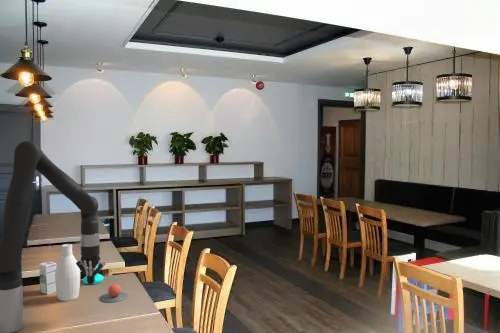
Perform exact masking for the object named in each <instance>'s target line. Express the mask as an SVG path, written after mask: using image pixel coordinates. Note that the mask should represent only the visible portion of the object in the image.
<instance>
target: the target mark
mask: <svg viewBox="0 0 500 333" xmlns="http://www.w3.org/2000/svg"><path fill="white" fill-rule="evenodd" d="M128 297H129V295H128V293H126V292H122V291H121V293H120V294H119V295H118V296H117V297H111V296H110V295H109V293H108V292H107V293H104V294H102V295H101V296H99V297H98V300H99V301H100V302H102V303H108V304H110V303H111V304H112V303H118V302H119V303H120V302H122V301H125V300H126V299H127V298H128Z"/></svg>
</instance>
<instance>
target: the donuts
mask: <svg viewBox="0 0 500 333" xmlns="http://www.w3.org/2000/svg"><path fill="white" fill-rule="evenodd" d="M97 267H98V264H97V266H96V269H97ZM103 281H104V275H102V274H100V273H98V274H96V275H95V282H94V283H93V284H92V285H97V284H100V283H102V282H103ZM83 283H84V284H86V285H89V284H88V283H87V275H86V276H84V277H83Z"/></svg>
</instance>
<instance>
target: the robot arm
mask: <svg viewBox="0 0 500 333" xmlns="http://www.w3.org/2000/svg"><path fill="white" fill-rule="evenodd" d="M13 155H14V156H13V166H12V167H13V168H12V175H11V179H10V182H9V185H8V189H7V192H6V196H5V197H6V198H5V201H4V206H3V211H2V212H3V214H2V233H1V239H0V333H15V332H18V331H20V330H22V329H23V328H24V323H25V322H24V302H23V301H24V299H23V298H24V297H23V295H24V294H23V273H22V260H23V259H22V255H23V254H22V253H23V242H24V241H23V240H24V236H25V231H26V229H27V225H28V222H29V218H30V214H31V211H32V210H31V209H32V204H33V197H34V196H33V195H34V177H35V173H36V171H37V172H39V173H40V174H41V175H42V177H44V178H45V179H46V180H48V182H49V183H50V184H51V185H52V186H53V187H54V188H55V189H56V190H57V191H58V192H60V193H61V195H63V196H64V197H66V199H69V200H70V201H71V202H72V204H74V205H75V207H77V209H79V210H80V219H81V222H80V255H81V257H80V259H79V260H77V262H76V265H77V266H78V267H79V269H80V273H82V274H83V275H86V276H87V283H88V284H87V285H94V284H93V283H94V282H95V275H96V274H100V273H101V270H102V269H103V268H104V267H105V265H106V263H105V262H103V261H102V260H101V257H100V254H101V253H100V252H101V251H100V250H101V248H100V232H99V228H100V226H99V220H98V216H99V215H98V214H99V213H98V212H99V211H98V210H99V202H98V200H97V198H96V197H94V196H92V195H90V194H89V193H88V192H87V191H85V190H84V189H83V187H82V186H81V185H80V183H78V182H77V181H75V179H73V178H72V176H69V175H68V174H67V173H66V172H64V171H63V170H62V169H61V168H59V167H58V166H57V165H56V164H55V163H53V162H52V161H51V159H50V158H49V157H48V156H47V155H46V154H45V153H44V151H43V150H42V149H41V147H40V145H38V144H37V143H36V142H34V141H30V140H24V141H21V142H19V143H18V144H17V145H16V147H15V148H14V152H13ZM97 264H98V267H97V269H96V266H97Z"/></svg>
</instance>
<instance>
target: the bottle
mask: <svg viewBox="0 0 500 333" xmlns="http://www.w3.org/2000/svg"><path fill="white" fill-rule="evenodd" d="M61 249H62V250H61V257H60V259H59V260H58V262H57V263H56V272H55V284H56V292H55V293H56V295H57V296H56V297H57V299H58V300H59V301H61V302H70V301H73V300H76V299H78V297H79V296H80V295H79V294H80V290H81V288H80V287H81V270H80V269H79V267H78V266H77V265H76V262H78V260H77V259H76V257H75V256H74V254H73V244H71V243H66V244H65V243H64V244H62V245H61Z"/></svg>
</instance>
